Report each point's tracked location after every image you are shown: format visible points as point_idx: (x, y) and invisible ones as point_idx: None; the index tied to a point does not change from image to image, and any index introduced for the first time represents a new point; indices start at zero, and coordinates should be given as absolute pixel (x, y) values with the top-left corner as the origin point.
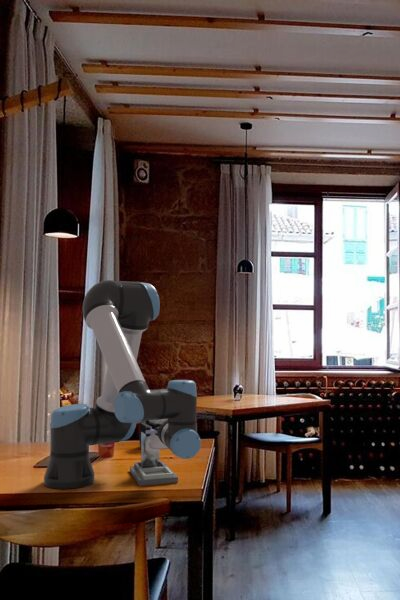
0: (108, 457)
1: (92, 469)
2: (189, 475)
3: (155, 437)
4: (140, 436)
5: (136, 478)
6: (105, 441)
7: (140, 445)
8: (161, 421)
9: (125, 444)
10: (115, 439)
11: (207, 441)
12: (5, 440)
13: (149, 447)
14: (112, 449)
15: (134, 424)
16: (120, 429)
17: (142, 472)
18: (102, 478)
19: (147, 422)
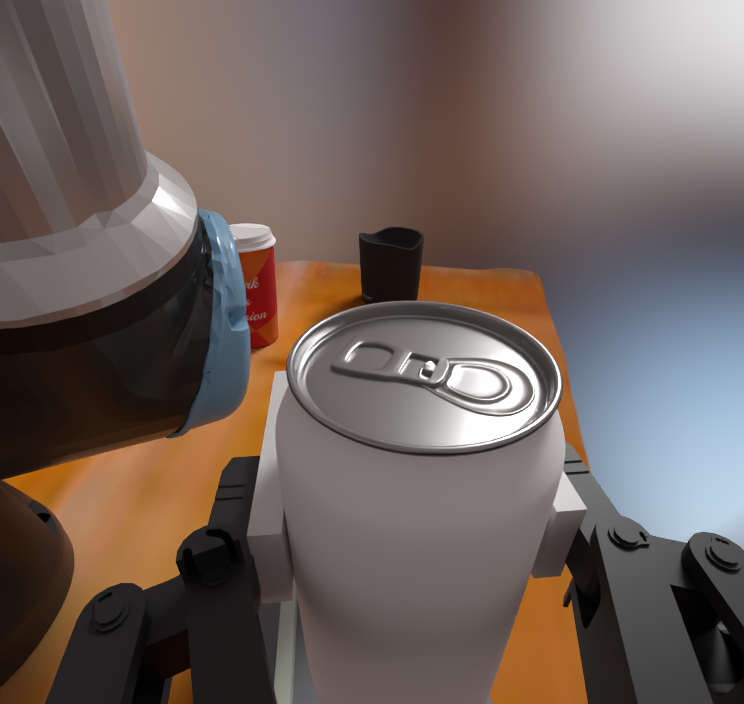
0: (258, 347)
1: (4, 604)
2: (550, 613)
3: (339, 684)
4: (362, 273)
5: None
6: (47, 467)
7: (363, 294)
8: (421, 606)
9: (332, 278)
10: (122, 447)
11: (535, 282)
12: None
13: None
14: (268, 326)
15: (232, 366)
16: (118, 413)
17: (281, 677)
18: (120, 576)
19: (196, 615)
